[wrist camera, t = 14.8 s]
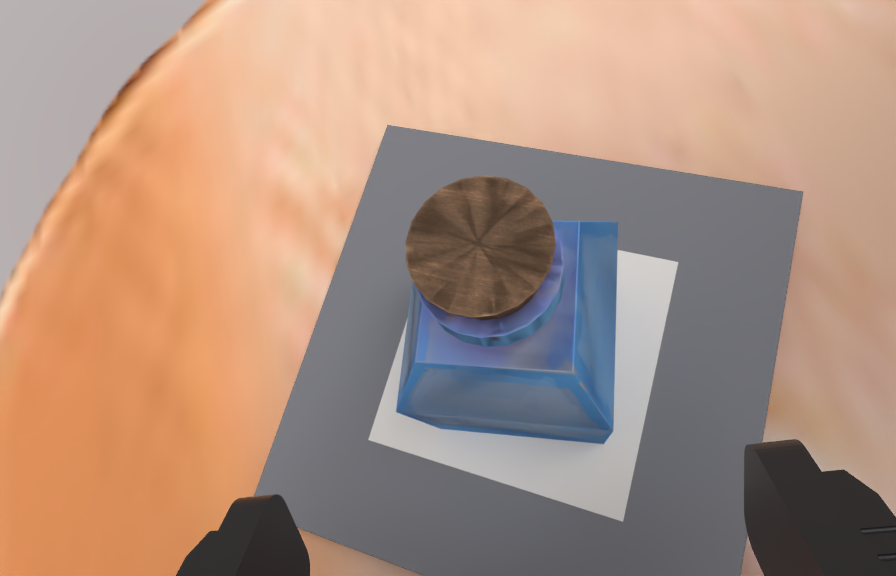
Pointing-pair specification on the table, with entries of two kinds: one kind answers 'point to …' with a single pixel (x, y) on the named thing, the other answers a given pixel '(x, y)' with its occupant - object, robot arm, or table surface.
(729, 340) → the mat
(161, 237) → the table surface
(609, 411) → the perfume bottle
